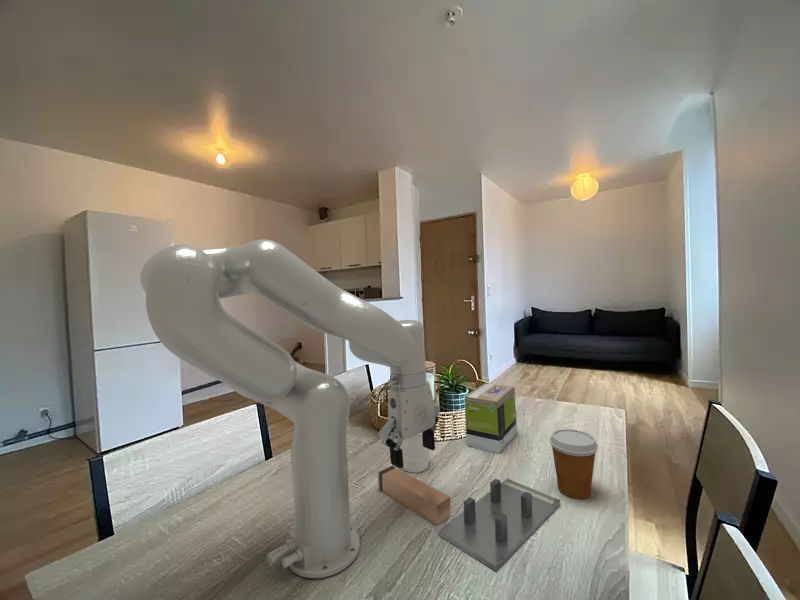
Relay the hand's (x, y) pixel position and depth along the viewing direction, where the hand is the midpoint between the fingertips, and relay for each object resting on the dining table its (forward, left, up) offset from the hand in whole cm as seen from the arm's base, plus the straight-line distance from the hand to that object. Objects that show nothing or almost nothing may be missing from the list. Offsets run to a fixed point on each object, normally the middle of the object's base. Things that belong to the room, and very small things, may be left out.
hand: (413, 456), depth 77 cm
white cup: (+10, +10, -10) cm, 17 cm away
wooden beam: (-1, 0, -10) cm, 10 cm away
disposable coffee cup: (+26, -23, -10) cm, 36 cm away
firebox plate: (+7, -17, -9) cm, 21 cm away
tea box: (+36, +4, -10) cm, 38 cm away
